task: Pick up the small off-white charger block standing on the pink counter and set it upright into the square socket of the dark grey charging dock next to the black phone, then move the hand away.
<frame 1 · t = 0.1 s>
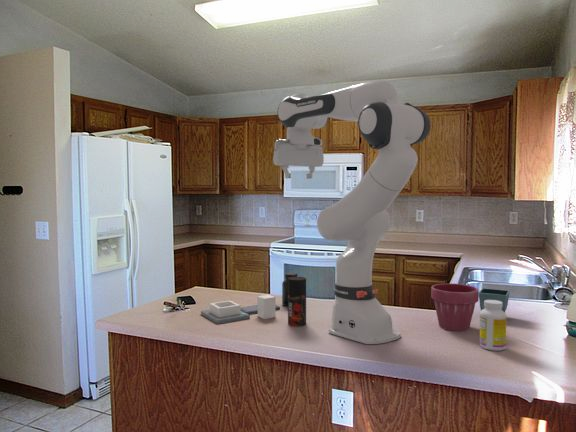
hand: (298, 178, 167), 48 cm above the counter, tool pointing down, fingers open, 8 cm apart
phone: (258, 309, 166), on the counter
charger: (266, 316, 158), on the counter
plant pot: (453, 327, 145), on the counter
supplement bottle 2: (492, 348, 126), on the counter
supplement bottle: (291, 305, 174), on the counter
flower pot: (493, 317, 157), on the counter
dock: (224, 316, 158), on the counter
deodorant: (297, 324, 149), on the counter
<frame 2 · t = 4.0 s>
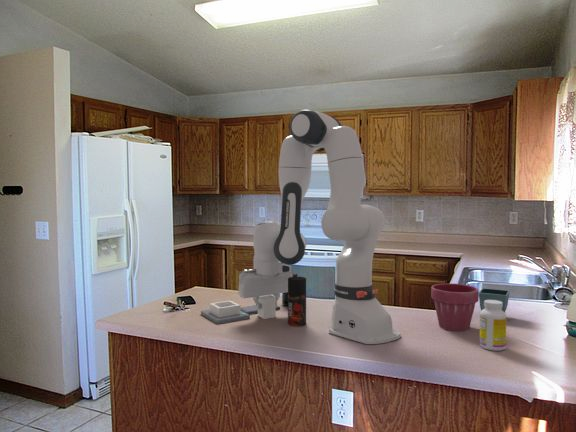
hand: (266, 307, 157), 3 cm above the counter, tool pointing down, fingers closed on charger, 4 cm apart
charger: (266, 316, 158), on the counter, touching gripper
everything else where it was.
when the fingers open (5 cm above the counter, at t = 9.7 s): charger stays where it is, resting on dock.
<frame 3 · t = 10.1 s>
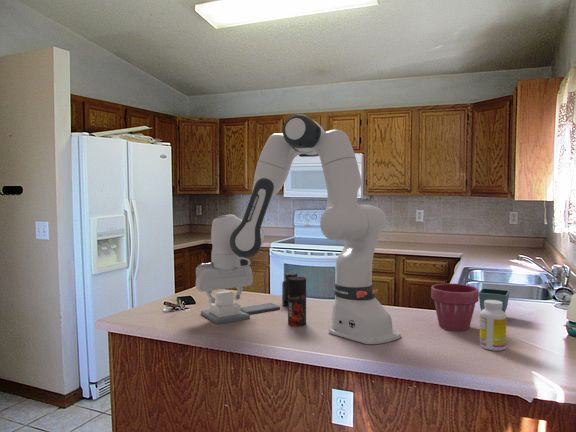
hand: (224, 301, 158), 5 cm above the counter, tool pointing down, fingers open, 8 cm apart
charger: (224, 312, 158), point 1 cm above the counter, touching dock
everything else where it was.
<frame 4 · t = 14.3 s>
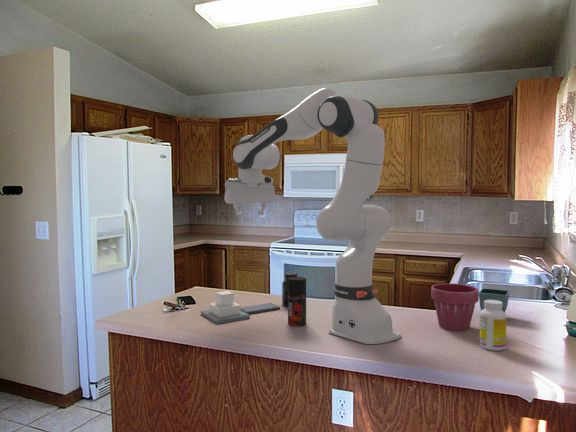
hand: (250, 215, 174), 34 cm above the counter, tool pointing down, fingers open, 8 cm apart
nothing on the counter moved.
at the end: charger 0.1 cm off-centre on the dock, point 1.2 cm above the dock's base; charger tilted 0°; the gripper is holding nothing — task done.
